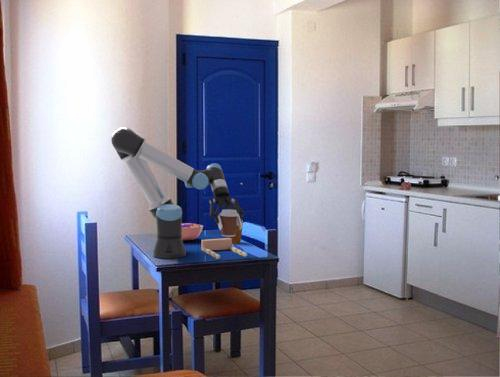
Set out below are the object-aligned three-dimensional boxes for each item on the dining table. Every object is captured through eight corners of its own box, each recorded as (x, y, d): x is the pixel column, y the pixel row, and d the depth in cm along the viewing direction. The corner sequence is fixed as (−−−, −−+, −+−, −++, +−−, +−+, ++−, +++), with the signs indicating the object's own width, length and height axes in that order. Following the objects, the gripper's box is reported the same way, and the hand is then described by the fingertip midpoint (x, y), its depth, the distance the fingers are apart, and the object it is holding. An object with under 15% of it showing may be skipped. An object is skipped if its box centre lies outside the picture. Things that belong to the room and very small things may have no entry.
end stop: (231, 248, 294) (231, 239, 294) (203, 250, 289) (203, 240, 288) (229, 247, 297) (229, 238, 297) (201, 249, 291) (201, 239, 291)
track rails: (246, 256, 276) (247, 253, 276) (216, 258, 270) (216, 255, 270) (231, 248, 294) (231, 245, 294) (203, 250, 289) (203, 247, 288)
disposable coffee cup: (225, 244, 306) (225, 221, 305) (225, 241, 316) (225, 219, 315) (243, 244, 307) (243, 221, 306) (243, 241, 316) (243, 219, 315)
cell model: (201, 243, 309) (201, 222, 308) (163, 243, 309) (163, 221, 308) (204, 238, 326) (204, 217, 325) (168, 237, 326) (168, 217, 325)
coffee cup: (218, 237, 271) (219, 211, 270) (218, 233, 280) (219, 208, 279) (238, 237, 272) (239, 211, 271) (238, 234, 281) (238, 209, 280)
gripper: (239, 195, 293) (250, 231, 280) (197, 195, 285) (206, 233, 271) (243, 185, 288) (255, 222, 274) (200, 185, 279) (210, 223, 266)
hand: (231, 228), depth 273 cm, fingers closed on coffee cup, 9 cm apart
